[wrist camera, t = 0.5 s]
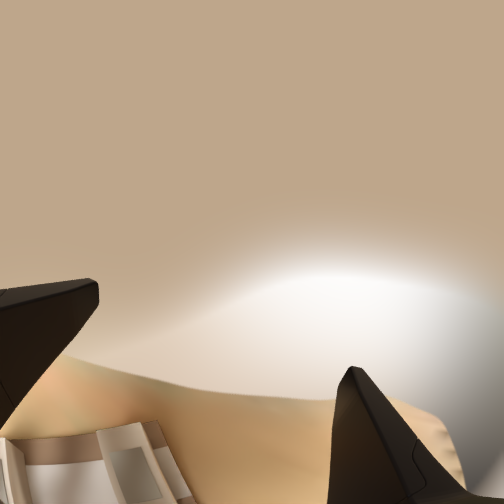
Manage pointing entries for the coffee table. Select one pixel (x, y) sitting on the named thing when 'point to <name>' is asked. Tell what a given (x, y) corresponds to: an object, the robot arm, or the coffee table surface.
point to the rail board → (93, 469)
